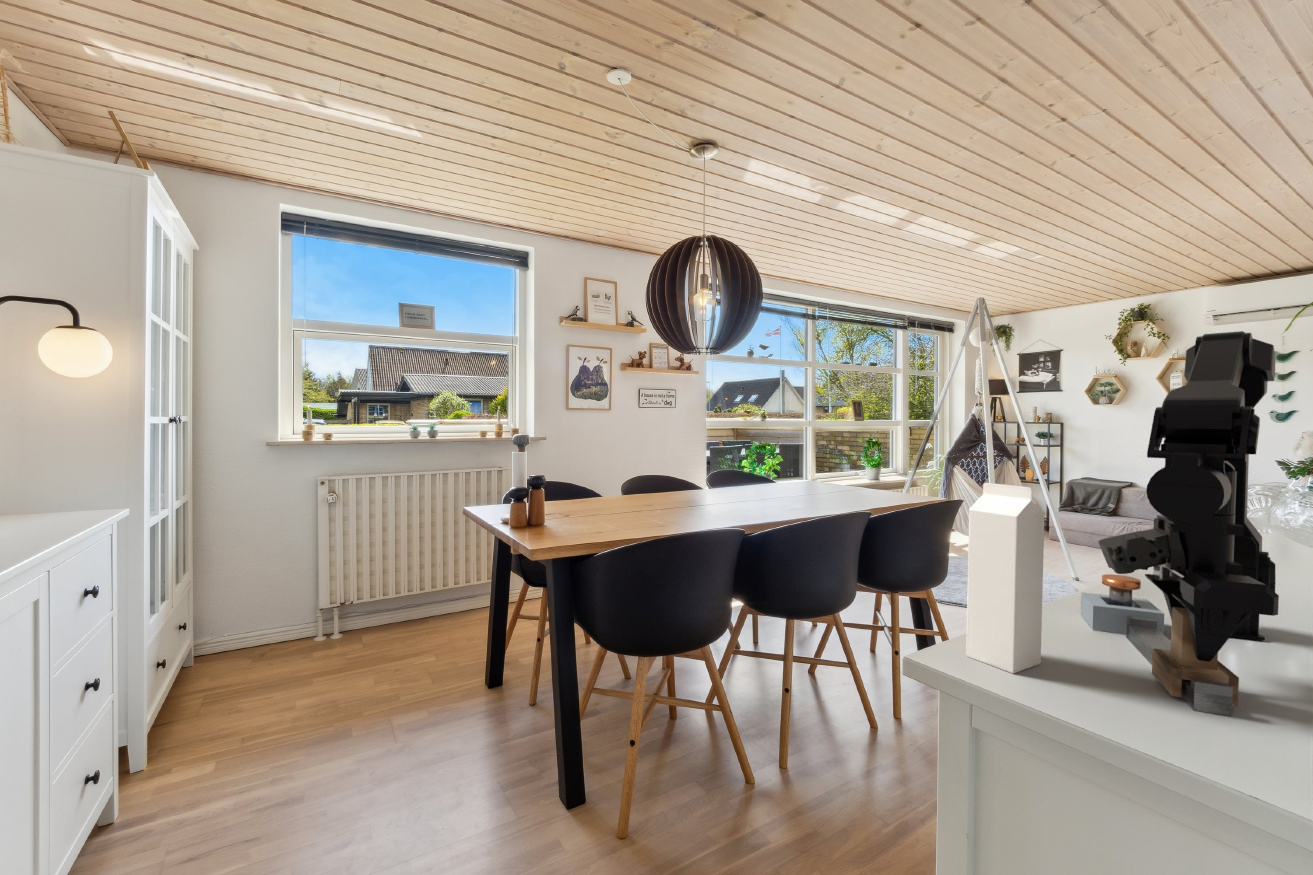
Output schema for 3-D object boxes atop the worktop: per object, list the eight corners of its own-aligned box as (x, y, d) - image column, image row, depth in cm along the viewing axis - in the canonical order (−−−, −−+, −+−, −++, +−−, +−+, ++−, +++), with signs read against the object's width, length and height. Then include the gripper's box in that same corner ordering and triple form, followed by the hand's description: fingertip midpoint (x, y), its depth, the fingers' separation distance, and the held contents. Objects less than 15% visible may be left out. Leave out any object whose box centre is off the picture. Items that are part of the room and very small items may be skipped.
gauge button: (1134, 606, 86) (1135, 576, 86) (1144, 615, 82) (1145, 584, 82) (1097, 602, 88) (1098, 572, 88) (1105, 611, 84) (1106, 580, 84)
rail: (1153, 640, 80) (1154, 618, 79) (1231, 716, 59) (1232, 687, 59) (1126, 637, 81) (1127, 615, 81) (1193, 710, 61) (1194, 681, 61)
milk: (1013, 674, 69) (1017, 489, 68) (964, 656, 74) (968, 483, 74) (1041, 663, 72) (1046, 485, 71) (993, 646, 77) (996, 480, 76)
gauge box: (1145, 622, 87) (1146, 599, 86) (1163, 638, 80) (1164, 613, 80) (1080, 614, 90) (1081, 592, 90) (1092, 629, 84) (1093, 605, 83)
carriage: (1211, 682, 66) (1214, 608, 66) (1237, 705, 61) (1241, 625, 60) (1151, 673, 68) (1154, 601, 68) (1171, 695, 63) (1174, 617, 63)
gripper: (1087, 496, 76) (1083, 615, 76) (1134, 519, 59) (1130, 672, 59) (1198, 501, 71) (1193, 628, 72) (1284, 528, 54) (1278, 694, 55)
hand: (1193, 651), depth 65 cm, fingers open, 5 cm apart
